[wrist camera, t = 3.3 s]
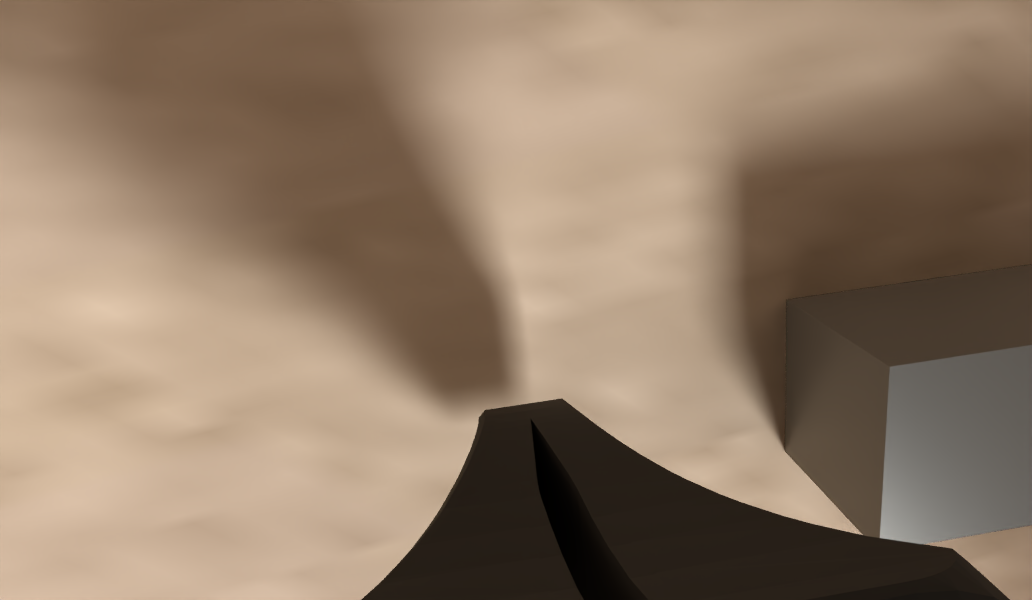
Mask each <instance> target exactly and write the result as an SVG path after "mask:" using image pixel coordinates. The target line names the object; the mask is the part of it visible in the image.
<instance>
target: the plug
mask: <svg viewBox="0 0 1032 600" xmlns="http://www.w3.org/2000/svg"><path fill="white" fill-rule="evenodd" d="M785 452H786V453H787V454H788V455H789V456H790V457H791V458H792V459H793V460H794V461H795V462H796V464H797V465H798V466H799V467H800V468H801V469H802V470H803V471H804V472H805V473H806V474H807V475H808V476H809V477H810V479H811V480H812V481H813V482H814V483H815V484H816V485H817V486H818V487H819V488H820V489H821V490H822V491H823V492H824V494H825V495H826V496H827V497H828V498H829V499H830V500H831V501H832V502H833V503H834V504H835V505H836V506H837V507H838V509H839V510H840V511H841V512H842V513H843V514H844V515H845V516H846V517H847V518H848V519H849V520H850V521H851V522H852V524H853V525H854V526H855V527H856V528H857V529H858V530H859V531H860V532H861V533H862V534H863V535H864V536H870V537H877V538H883V539H890V540H897V541H903V542H910V543H917V544H927V543H933V542H939V541H944V540H950V539H956V538H962V537H967V536H973V535H979V534H984V533H990V532H996V531H1002V530H1007V529H1013V528H1019V527H1024V526H1030V525H1032V264H1030V265H1024V266H1017V267H1010V268H1003V269H996V270H989V271H982V272H975V273H968V274H961V275H954V276H947V277H940V278H934V279H927V280H920V281H913V282H906V283H899V284H892V285H885V286H878V287H871V288H864V289H857V290H851V291H844V292H837V293H830V294H823V295H816V296H809V297H802V298H795V299H788V300H786V405H785Z"/></svg>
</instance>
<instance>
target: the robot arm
mask: <svg viewBox="0 0 1032 600" xmlns="http://www.w3.org/2000/svg"><path fill="white" fill-rule="evenodd" d="M362 600H1010V599H1008V598H1007V597H1006V596H1005V595H1004V594H1003V593H1002V592H1001V591H1000V590H999V589H998V588H996V587H995V586H994V585H993V584H992V583H991V582H990V581H989V580H988V579H987V578H985V577H984V576H983V575H982V574H981V573H980V572H979V571H978V570H977V569H975V568H974V567H973V566H972V565H971V564H970V563H969V562H968V561H967V560H965V559H964V558H963V557H962V556H960V555H959V554H958V553H957V552H956V551H954V550H953V549H950V548H944V547H937V546H930V545H924V544H917V543H910V542H903V541H897V540H890V539H883V538H877V537H870V536H864V535H859V534H854V533H850V532H845V531H841V530H837V529H832V528H828V527H823V526H819V525H814V524H810V523H807V522H803V521H799V520H796V519H792V518H788V517H785V516H781V515H778V514H775V513H772V512H769V511H766V510H763V509H760V508H757V507H754V506H751V505H748V504H745V503H741V502H739V501H736V500H733V499H731V498H728V497H726V496H723V495H720V494H718V493H716V492H713V491H711V490H709V489H707V488H704V487H702V486H700V485H698V484H695V483H693V482H691V481H689V480H686V479H684V478H682V477H680V476H678V475H676V474H674V473H672V472H670V471H668V470H667V469H665V468H663V467H661V466H660V465H658V464H656V463H654V462H653V461H651V460H649V459H647V458H646V457H644V456H642V455H640V454H639V453H637V452H636V451H634V450H632V449H631V448H629V447H628V446H626V445H625V444H623V443H622V442H620V441H619V440H617V439H616V438H614V437H613V436H611V435H610V434H608V433H607V432H606V431H604V430H603V429H601V428H600V427H599V426H597V425H596V424H595V423H593V422H592V421H591V420H589V419H588V418H587V417H585V416H584V415H583V414H581V413H580V412H579V411H578V410H576V409H575V408H574V407H572V406H571V405H570V404H568V403H567V402H566V401H564V400H563V399H556V400H549V401H543V402H536V403H529V404H523V405H516V406H510V407H503V408H497V409H490V410H485V411H484V412H483V413H482V415H481V416H480V417H479V423H478V428H477V432H476V435H475V439H474V441H473V444H472V447H471V450H470V452H469V454H468V457H467V459H466V461H465V463H464V466H463V468H462V470H461V472H460V475H459V477H458V479H457V480H456V482H455V484H454V486H453V488H452V489H451V491H450V493H449V495H448V496H447V498H446V500H445V502H444V503H443V505H442V507H441V509H440V510H439V512H438V513H437V515H436V516H435V518H434V519H433V521H432V522H431V524H430V525H429V527H428V528H427V529H426V531H425V532H424V533H423V535H422V536H421V537H420V539H419V540H418V541H417V543H416V544H415V545H414V547H413V548H412V549H411V550H410V551H409V552H408V554H407V555H406V556H405V557H404V558H403V559H402V560H401V561H400V563H399V564H398V565H397V566H396V567H395V568H394V569H393V570H392V571H391V572H390V573H389V574H388V575H387V576H386V577H385V578H384V580H382V581H381V582H380V583H379V584H378V585H377V586H376V587H375V588H374V589H373V590H372V591H370V592H369V593H368V594H367V595H366V596H365V597H364V598H363V599H362Z"/></svg>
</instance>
